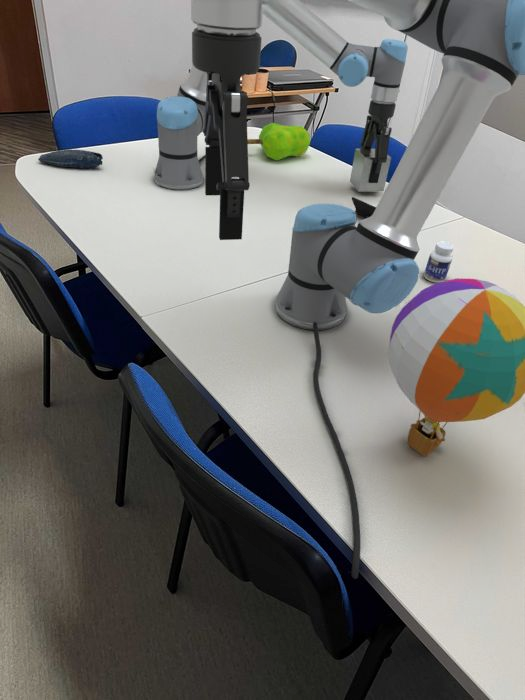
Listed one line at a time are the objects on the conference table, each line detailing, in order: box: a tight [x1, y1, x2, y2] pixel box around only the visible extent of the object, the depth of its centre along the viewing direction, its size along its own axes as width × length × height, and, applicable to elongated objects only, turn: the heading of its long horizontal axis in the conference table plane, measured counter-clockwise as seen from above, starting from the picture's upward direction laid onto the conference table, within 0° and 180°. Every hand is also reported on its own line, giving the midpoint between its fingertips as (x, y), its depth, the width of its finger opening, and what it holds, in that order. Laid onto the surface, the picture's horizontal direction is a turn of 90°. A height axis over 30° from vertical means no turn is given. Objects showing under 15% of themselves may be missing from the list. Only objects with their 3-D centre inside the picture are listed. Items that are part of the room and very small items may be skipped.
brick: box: [349, 147, 392, 193], centre depth 165 cm, size 8×9×11 cm
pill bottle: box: [423, 240, 454, 284], centre depth 125 cm, size 5×5×9 cm
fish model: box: [37, 149, 104, 170], centre depth 166 cm, size 7×21×5 cm, turn 84°
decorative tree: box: [247, 122, 311, 161], centre depth 186 cm, size 18×10×30 cm
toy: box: [387, 278, 525, 458], centre depth 75 cm, size 20×20×30 cm
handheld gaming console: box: [351, 196, 377, 218], centre depth 151 cm, size 12×7×10 cm
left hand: (367, 177), depth 166 cm, fingers closed on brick, 8 cm apart
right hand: (222, 215), depth 69 cm, fingers open, 13 cm apart
